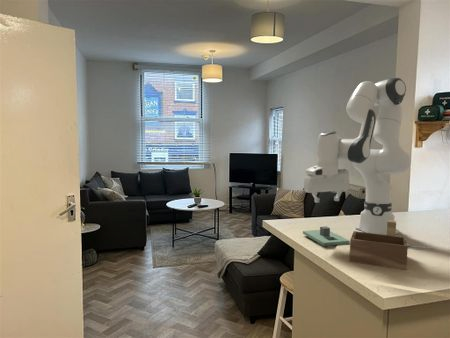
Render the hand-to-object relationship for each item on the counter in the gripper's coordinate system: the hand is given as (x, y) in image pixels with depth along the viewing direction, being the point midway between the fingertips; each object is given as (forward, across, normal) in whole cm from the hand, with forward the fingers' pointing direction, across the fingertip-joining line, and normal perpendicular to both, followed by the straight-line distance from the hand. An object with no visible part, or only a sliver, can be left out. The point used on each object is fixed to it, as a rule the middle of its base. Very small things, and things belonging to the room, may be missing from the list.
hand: (326, 201), depth 153 cm
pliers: (+18, -29, +19) cm, 39 cm away
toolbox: (+17, -3, +29) cm, 34 cm away
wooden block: (+17, -14, +23) cm, 32 cm away
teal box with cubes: (+16, +1, +1) cm, 16 cm away
